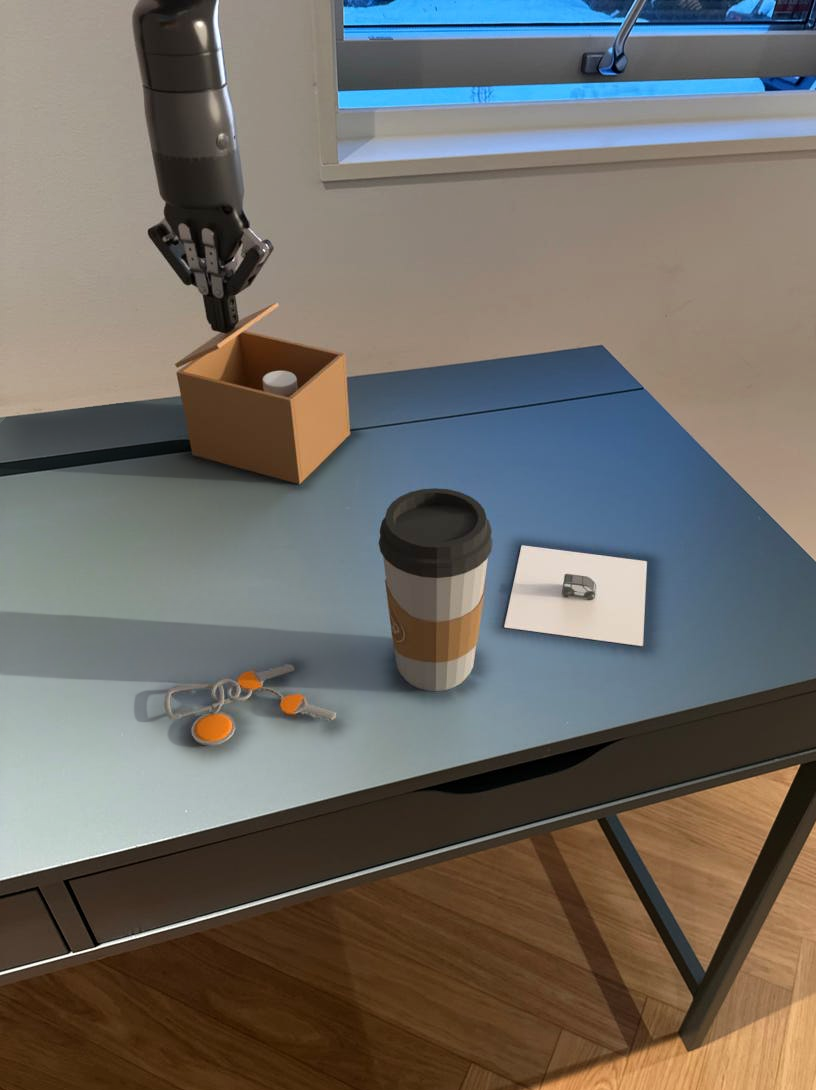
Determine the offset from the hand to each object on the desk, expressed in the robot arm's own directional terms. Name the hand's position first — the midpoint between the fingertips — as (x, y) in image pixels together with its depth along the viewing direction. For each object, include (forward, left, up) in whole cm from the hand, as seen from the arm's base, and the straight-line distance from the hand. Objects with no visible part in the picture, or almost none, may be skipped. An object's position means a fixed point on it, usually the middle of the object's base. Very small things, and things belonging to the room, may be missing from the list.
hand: (224, 329), depth 94 cm
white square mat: (+42, -10, -12) cm, 45 cm away
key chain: (+23, -34, -12) cm, 43 cm away
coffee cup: (+34, -24, -12) cm, 44 cm away
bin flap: (+1, 0, -1) cm, 1 cm away
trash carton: (+4, 0, -12) cm, 13 cm away
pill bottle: (+6, 0, -12) cm, 13 cm away
